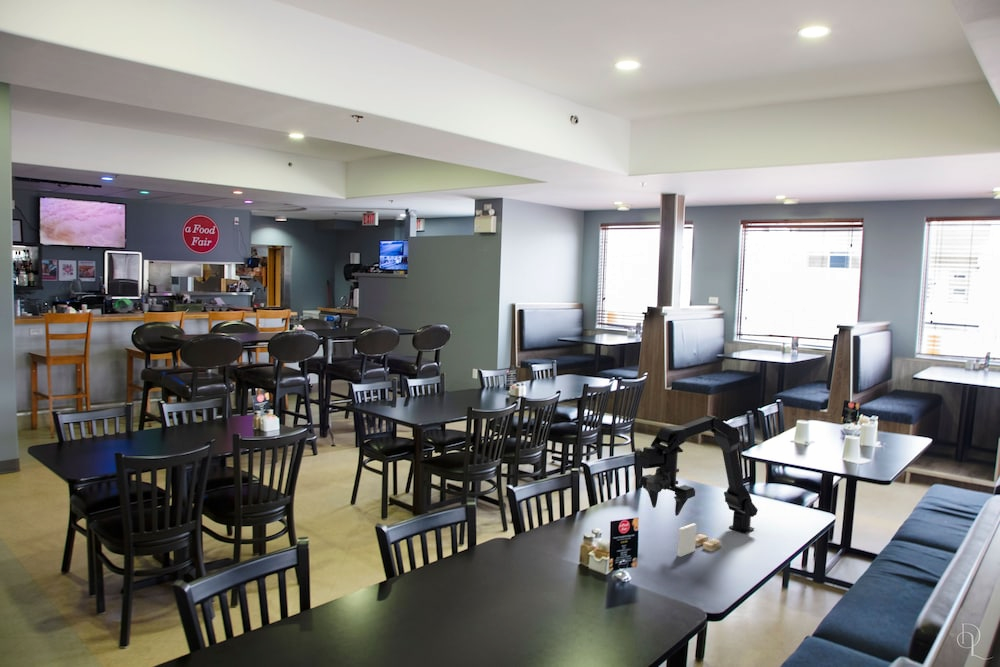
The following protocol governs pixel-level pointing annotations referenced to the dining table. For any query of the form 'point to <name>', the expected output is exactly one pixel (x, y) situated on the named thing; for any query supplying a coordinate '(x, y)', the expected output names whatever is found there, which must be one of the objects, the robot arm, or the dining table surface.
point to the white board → (686, 539)
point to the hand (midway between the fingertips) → (665, 511)
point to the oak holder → (707, 542)
